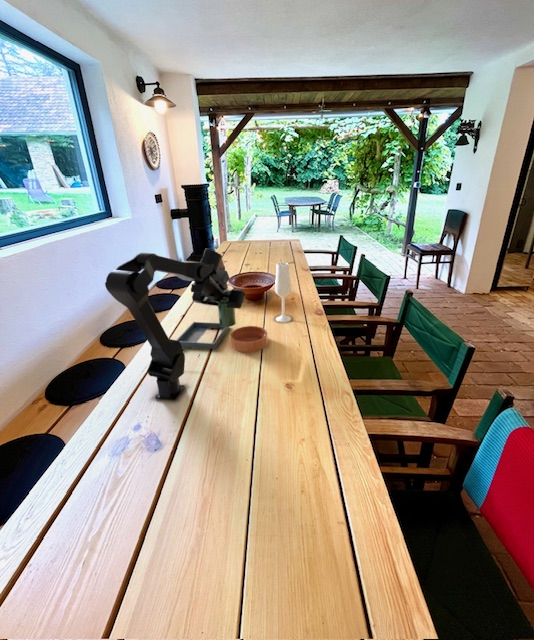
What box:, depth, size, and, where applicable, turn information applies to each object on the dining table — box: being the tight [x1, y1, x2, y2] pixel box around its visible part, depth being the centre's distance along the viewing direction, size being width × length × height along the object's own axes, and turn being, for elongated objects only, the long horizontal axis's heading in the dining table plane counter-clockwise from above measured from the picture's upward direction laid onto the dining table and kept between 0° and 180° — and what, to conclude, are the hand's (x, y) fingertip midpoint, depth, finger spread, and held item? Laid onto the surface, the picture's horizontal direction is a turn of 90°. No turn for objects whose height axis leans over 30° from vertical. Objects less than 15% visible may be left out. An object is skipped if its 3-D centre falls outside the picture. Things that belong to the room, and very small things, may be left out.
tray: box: [176, 321, 230, 350], centre depth 124 cm, size 17×15×2 cm
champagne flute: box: [274, 262, 292, 323], centre depth 133 cm, size 7×7×24 cm
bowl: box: [229, 325, 269, 353], centre depth 117 cm, size 13×13×4 cm
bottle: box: [217, 288, 237, 328], centre depth 116 cm, size 6×6×13 cm
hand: (228, 306), depth 118 cm, fingers closed on bottle, 6 cm apart
